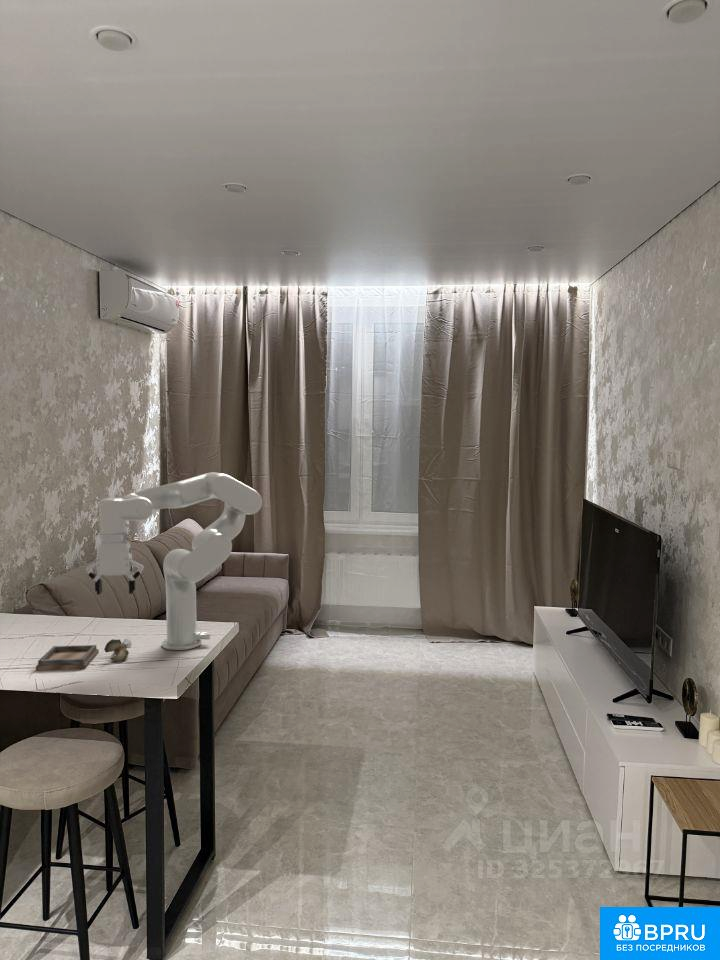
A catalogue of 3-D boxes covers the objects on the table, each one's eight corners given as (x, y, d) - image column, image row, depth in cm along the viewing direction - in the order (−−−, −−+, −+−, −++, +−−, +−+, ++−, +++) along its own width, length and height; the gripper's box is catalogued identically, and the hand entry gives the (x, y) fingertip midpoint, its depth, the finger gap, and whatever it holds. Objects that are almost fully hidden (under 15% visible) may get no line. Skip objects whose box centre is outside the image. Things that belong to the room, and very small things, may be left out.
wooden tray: (98, 652, 226) (98, 644, 226) (85, 668, 212) (84, 660, 211) (52, 654, 225) (52, 645, 225) (36, 670, 210) (35, 661, 210)
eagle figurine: (103, 651, 224) (98, 655, 216) (116, 631, 226) (111, 634, 217) (124, 663, 225) (120, 668, 216) (137, 643, 226) (133, 647, 218)
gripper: (145, 535, 224) (146, 589, 225) (88, 536, 222) (90, 591, 224) (139, 539, 216) (141, 595, 218) (80, 540, 215) (83, 596, 216)
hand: (115, 593), depth 221 cm, fingers open, 9 cm apart
